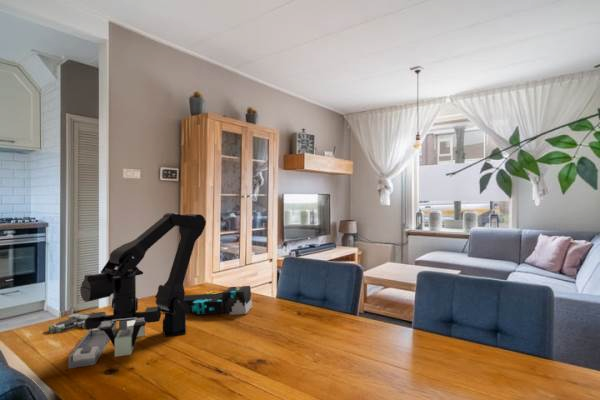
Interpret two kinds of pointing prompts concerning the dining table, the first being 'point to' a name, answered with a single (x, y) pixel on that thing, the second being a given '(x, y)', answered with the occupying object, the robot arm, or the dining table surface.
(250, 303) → the toy
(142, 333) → the block
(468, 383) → the dining table surface
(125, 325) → the white block
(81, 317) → the futuristic handgun
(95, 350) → the rail
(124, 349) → the module
